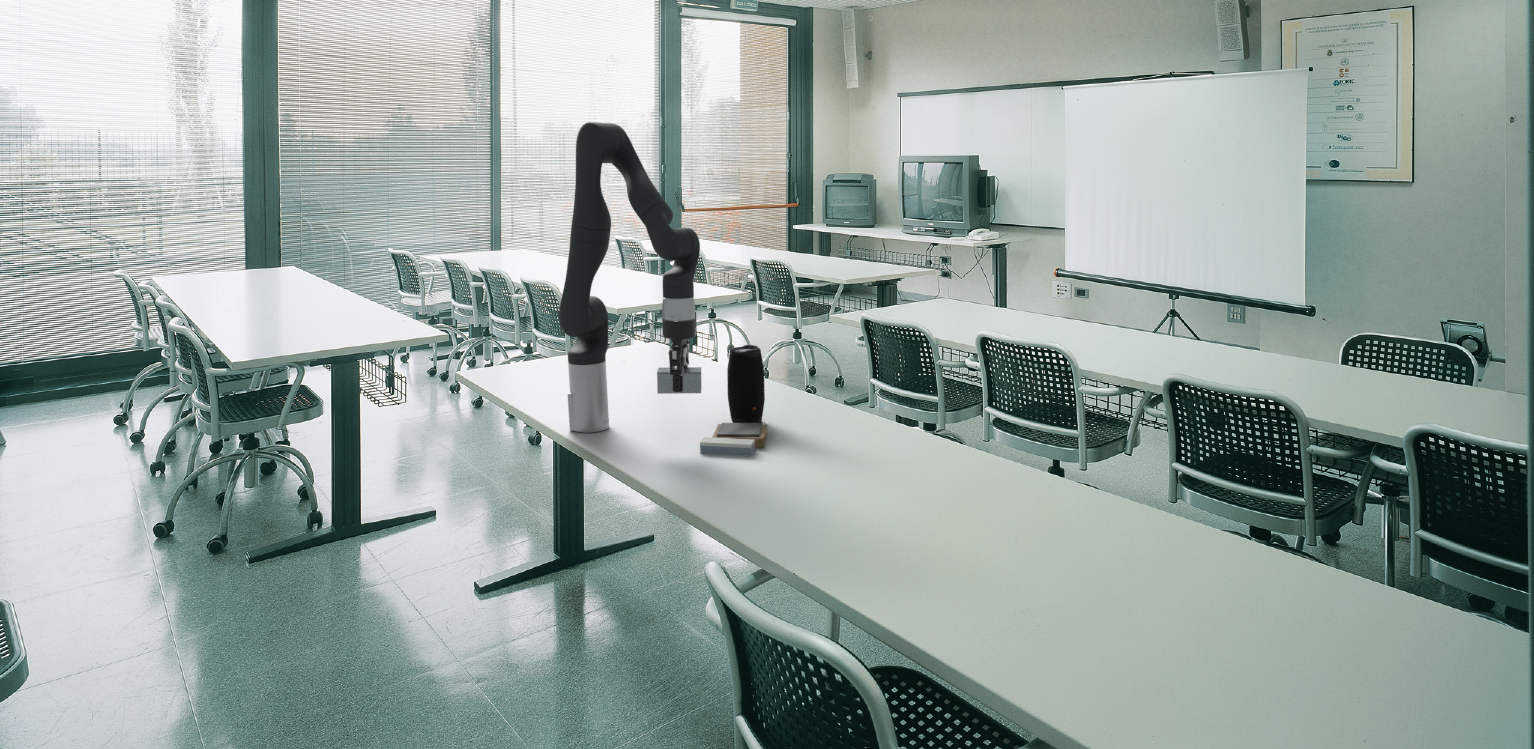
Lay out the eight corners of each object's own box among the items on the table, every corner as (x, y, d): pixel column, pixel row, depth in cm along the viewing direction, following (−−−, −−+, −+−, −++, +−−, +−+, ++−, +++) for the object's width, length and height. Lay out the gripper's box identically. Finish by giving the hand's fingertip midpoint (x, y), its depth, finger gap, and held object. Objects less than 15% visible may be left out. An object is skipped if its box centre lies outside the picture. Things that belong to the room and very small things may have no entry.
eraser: (700, 454, 219) (699, 442, 218) (705, 449, 223) (704, 437, 222) (751, 457, 216) (750, 444, 216) (755, 452, 220) (754, 439, 220)
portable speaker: (766, 426, 240) (765, 350, 236) (729, 427, 239) (727, 351, 235) (763, 417, 248) (762, 343, 244) (727, 418, 248) (725, 345, 243)
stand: (712, 447, 223) (711, 435, 222) (718, 433, 234) (718, 421, 234) (763, 448, 222) (763, 435, 221) (767, 433, 234) (767, 421, 233)
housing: (657, 393, 219) (657, 372, 218) (658, 388, 224) (658, 367, 222) (701, 393, 219) (700, 372, 218) (701, 388, 224) (701, 367, 223)
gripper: (668, 311, 225) (669, 381, 229) (656, 321, 211) (658, 395, 215) (699, 311, 224) (700, 381, 228) (690, 322, 210) (691, 396, 214)
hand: (680, 388), depth 221 cm, fingers closed on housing, 5 cm apart
